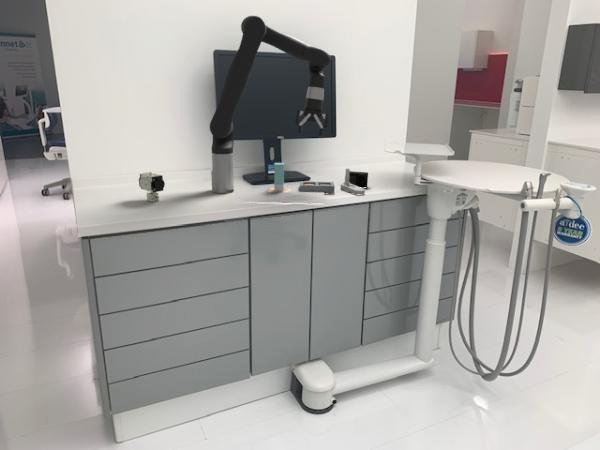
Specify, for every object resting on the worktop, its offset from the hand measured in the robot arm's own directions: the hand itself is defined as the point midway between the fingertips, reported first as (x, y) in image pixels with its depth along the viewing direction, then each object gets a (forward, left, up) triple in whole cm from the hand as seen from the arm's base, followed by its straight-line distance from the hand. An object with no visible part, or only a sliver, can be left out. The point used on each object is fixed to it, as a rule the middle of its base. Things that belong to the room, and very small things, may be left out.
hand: (309, 135), depth 213 cm
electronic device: (+20, -1, -25) cm, 32 cm away
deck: (-13, -6, -25) cm, 29 cm away
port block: (+4, -2, -25) cm, 25 cm away
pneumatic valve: (-64, -26, -25) cm, 74 cm away
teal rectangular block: (-13, -6, -24) cm, 28 cm away
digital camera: (+23, +9, -25) cm, 35 cm away
